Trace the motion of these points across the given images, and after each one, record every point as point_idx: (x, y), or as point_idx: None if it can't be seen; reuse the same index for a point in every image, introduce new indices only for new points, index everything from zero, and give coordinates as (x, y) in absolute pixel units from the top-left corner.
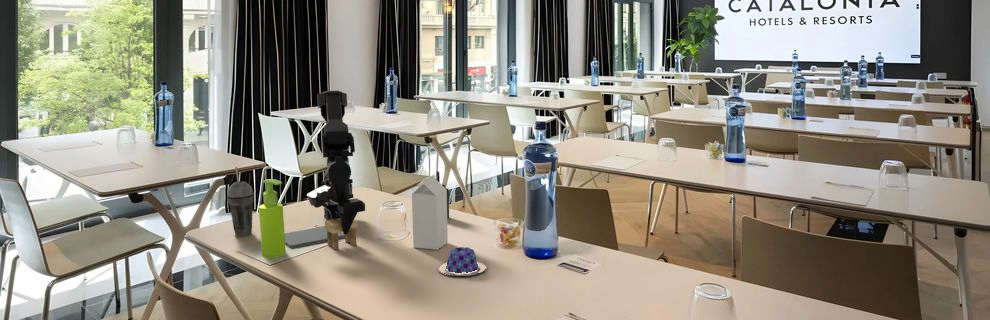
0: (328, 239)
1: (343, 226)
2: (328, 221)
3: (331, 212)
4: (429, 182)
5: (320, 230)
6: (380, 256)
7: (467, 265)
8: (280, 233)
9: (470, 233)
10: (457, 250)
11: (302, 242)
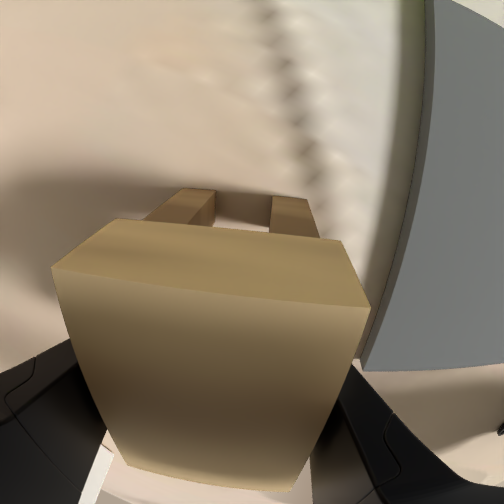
0: (287, 213)
1: (62, 345)
2: (272, 327)
3: (369, 490)
4: None
5: None
6: (4, 296)
7: None
8: None
9: (127, 493)
10: None
11: (450, 80)
